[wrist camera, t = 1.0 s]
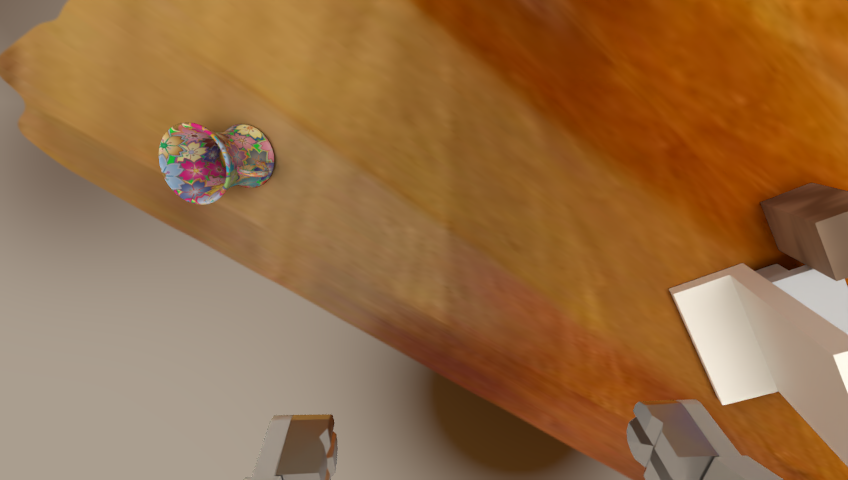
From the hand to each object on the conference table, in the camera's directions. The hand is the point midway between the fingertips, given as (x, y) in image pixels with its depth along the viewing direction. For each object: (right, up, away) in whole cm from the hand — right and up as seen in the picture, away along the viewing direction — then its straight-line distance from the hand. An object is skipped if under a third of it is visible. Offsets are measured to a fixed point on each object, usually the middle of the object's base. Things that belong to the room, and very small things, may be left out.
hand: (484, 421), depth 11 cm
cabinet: (+38, +7, +33) cm, 51 cm away
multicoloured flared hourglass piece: (-24, +16, +46) cm, 54 cm away
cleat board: (+37, -5, +37) cm, 53 cm away
